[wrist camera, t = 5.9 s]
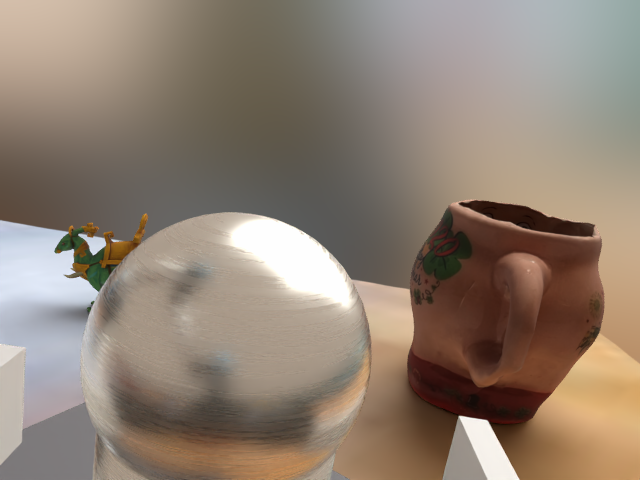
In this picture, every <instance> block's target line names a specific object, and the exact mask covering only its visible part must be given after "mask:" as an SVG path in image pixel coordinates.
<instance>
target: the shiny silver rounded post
mask: <svg viewBox="0 0 640 480" xmlns="http://www.w3.org/2000/svg"><path fill="white" fill-rule="evenodd" d="M370 371H371V336H370V330H369V324H368V320H367V317H366V313H365V310H364V306H363V303H362V300H361V298H360V296H359V294H358V292H357V289H356V287H355V285H354V284H353V282H352V281H351V279H350V277H349V276H348V274H347V273H346V271H345V270H344V268H343V267H342V266H341V265H340V263H339V262H338V261H337V260H336V259H335V258H334V256H333V255H332V254H331V253H330V252H329V251H328V250H326V249H325V248H324V247H323V246H322V245H321V244H320V243H318V242H317V241H316V240H314V239H313V238H312V237H310V236H308V235H307V234H305V233H304V232H302V231H300V230H299V229H297V228H295V227H293V226H290V225H288V224H286V223H283V222H281V221H279V220H276V219H273V218H269V217H264V216H260V215H254V214H247V213H235V212H232V213H231V212H227V213H216V214H208V215H202V216H198V217H194V218H191V219H187V220H184V221H181V222H178V223H176V224H174V225H172V226H169V227H167V228H165V229H163V230H161V231H159V232H158V233H156V234H154V235H153V236H151V237H150V238H148V239H146V240H145V241H144V242H142V243H141V244H140V245H139V246H137V247H136V248H135V249H134V250H133V251H131V252H130V253H129V254H128V255H127V256H126V257H125V258H124V259H123V260H122V261H121V262H120V264H119V265H118V266H117V267H116V268H115V269H114V270H113V272H112V273H111V274H110V276H109V277H108V279H107V280H106V282H105V283H104V285H103V286H102V288H101V289H100V291H99V293H98V295H97V297H96V300H95V302H94V304H93V306H92V308H91V311H90V314H89V317H88V320H87V323H86V327H85V330H84V333H83V340H82V347H81V384H82V389H83V395H84V400H85V404H86V408H87V410H88V413H89V416H90V419H91V421H92V424H93V426H94V428H95V430H96V441H95V454H94V466H93V479H92V480H330V479H331V474H332V469H333V464H334V459H335V454H336V451H337V450H338V449H339V448H340V446H341V445H342V443H343V441H344V440H345V438H346V437H347V435H348V434H349V432H350V431H351V429H352V427H353V426H354V424H355V422H356V420H357V417H358V415H359V413H360V411H361V408H362V405H363V402H364V399H365V395H366V392H367V389H368V385H369V379H370Z"/></svg>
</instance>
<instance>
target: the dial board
mask: <svg viewBox="0 0 640 480" xmlns="http://www.w3.org/2000/svg"><path fill="white" fill-rule="evenodd" d="M95 441H96V430H95V428H94V426H93V424H92V421H91V419H90V416H89V413H88V410H87V408H86V404H85V403H83V404H80V405H78V406H76V407H73V408H71V409H69V410H67V411H64V412H62V413H60V414H57V415H55V416H53V417H50V418H48V419H46V420H44V421H41V422H39V423H37V424H34V425H32V426H30V427H28V428H25V429H23V430H22V443H21V444H20V445H19V446H18V447H17V448H16V449H15V450H14V451H13V452H12V453H11V454H10V455H9V457H8V458H7V459H6V460H5V461H4V462H3V463H2V464H1V465H0V480H92V479H93V466H94V454H95ZM330 480H350V479H348V478H346V477H344V476H342V475H341V474H339V473H337V472H335V471H333V470H332V474H331V479H330Z"/></svg>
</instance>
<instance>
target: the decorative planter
mask: <svg viewBox="0 0 640 480" xmlns="http://www.w3.org/2000/svg"><path fill="white" fill-rule="evenodd" d="M601 247H602V239H601V236H600V233H599V231H598V230H597V228H596V225H593V224H589V223H583V222H576V221H572V220H567V219H562V218H557V217H553V216H549V215H547V214H544V213H542V212H540V211H537V210H534V209H531V208H529V207H526V206H521V205H517V204H508V203H498V202H489V201H482V200H464V201H460V202H455V203H452V204H451V205H449V207H448V208H447V209H446V211H445V213H444V215H443V217H442V219H441V221H440V222H439V224H438V225H437V227H436V228H435V230H434V231H433V232H432V233H431V235H430V236H429V237H428V239H427V240H426V242H425V243H424V245H423V246H422V248H421V250H420V251H419V253H418V255H417V257H416V260H415V262H414V265H413V268H412V272H411V279H410V294H411V305H412V312H413V318H414V337H413V342H412V345H411V348H410V351H409V355H408V363H407V367H408V378H409V382H410V384H411V386H412V388H413V390H414V391H415V392H416V393H417V394H418V395H419V396H420V397H421V398H423V399H424V400H426V401H427V402H429V403H431V404H433V405H436V406H438V407H441V408H443V409H446V410H448V411H451V412H453V413H456V414H459V415H462V416H465V417H469V418H476V419H482V420H487V421H488V422H492V423H502V424H513V423H521V422H525V421H528V420H530V419H531V418H533V416H534V415H535V413H536V411H537V409H538V408H539V407H540V405H541V404H542V403H543V402H544V401H545V400H546V399H547V398H548V397H549V396H550V395H551V394H552V393H553V391H554V390H555V389H556V387H557V386H558V385H559V384H560V383H561V381H562V380H563V379H564V378H565V376H566V375H567V374H568V372H569V371H570V369H571V368H572V367H573V365H574V364H575V363H576V362H577V361H578V359H579V358H580V357H581V356H582V355H583V354H584V353H585V352H586V351H587V350H588V349H589V347H590V346H591V345H592V344H593V342H594V341H595V339H596V338H597V336H598V334H599V331H600V328H601V323H602V319H603V313H604V291H603V287H602V283H601V280H600V277H599V271H598V261H599V256H600V252H601Z"/></svg>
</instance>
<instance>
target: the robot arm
mask: <svg viewBox="0 0 640 480" xmlns="http://www.w3.org/2000/svg"><path fill="white" fill-rule="evenodd" d="M25 354H26V348H24V347H18V346H11V345H5V344H0V465H1V464H2V463H3V462H4V461H5V460H6V459H7V458H8V457H9V455H10V454H11V453H12V452H13V451H14V450H15V449H16V448H17V447H18V446H19V445H20V444H21V443H22V427H23V403H24V378H25ZM442 480H519V478H518V476H517V474H516V472H515V470H514V469H513V467H512V465H511V463H510V461H509V459H508V458H507V456H506V454H505V452H504V450H503V448H502V446H501V445H500V443H499V441H498V439H497V437H496V435H495V433H494V432H493V430H492V428H491V426H490V424H489V422H488V421H487V420H482V419H476V418H469V417H463V416H459V417H458V421H457V425H456V428H455V432H454V436H453V440H452V444H451V448H450V452H449V455H448V459H447V463H446V467H445V471H444V475H443V479H442Z"/></svg>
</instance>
